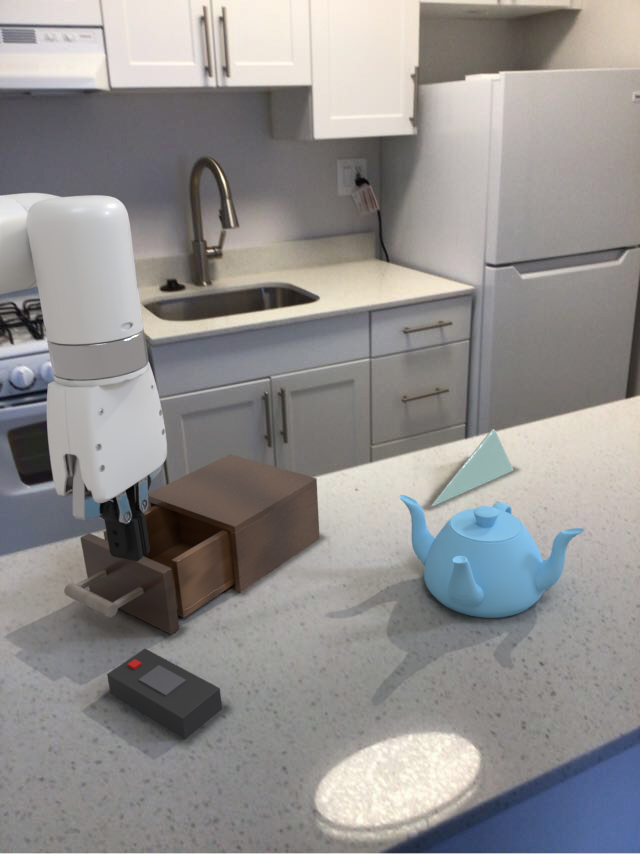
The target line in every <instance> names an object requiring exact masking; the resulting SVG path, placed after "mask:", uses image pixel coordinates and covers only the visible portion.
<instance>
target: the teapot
mask: <svg viewBox="0 0 640 854" xmlns="http://www.w3.org/2000/svg"><path fill="white" fill-rule="evenodd" d="M398 497H399V499H400V500H401V501H402V502H403V503H404V505H406V507H407V509H408V511H409V514H410V515H409V516H410V518H411V547H412V550H413V552H414V555H415V556H416V557H417V559H418V560H419V561H420V562H421V563H422V564H423V566H424V568H423V579H424V583H425V586H426V588H427V589H428V591H429V593H430V594H431V595H432V596H433V597H434V598H435V599H436V600H437V601H438V602H439V603H441V604H442V605H443V606H445V607H446V608H447V609H450V610H452V611H454V612H457V613H460V614H463V615H466V616H471V617H475V618H482V619H483V618H484V619H485V618H486V619H499V618H507V617H512V616H515V615H518V614H520V613H524V612H525V611H526V610H528V609H529V608H530V607H532V606H533V605H535V603H537V602H538V601H539V599H540V598H541V597H542V595H543V593H544V591H547V590H548V589H551V588H552V587H553V586H555V584H557V583H558V581H559V580H560V578H561V576H562V574H563V571H564V567H565V559H566V552H567V548H568V545H569V543H570V542H571V541H572V540H573V538H575V537H576V536H578V535H580V534H583V532H585V528H582V527H574V528H567V529H564V530H563V529H562V530H560V531H559V532H558V533H557V534H556V536H555V537H554V539H553V542H552V546H551V552H550V555H549V557H548V558H547V559H545V560H544V559H543V557H542V554H541V551H540V549H539V547H538V545H537V543H536V541H535V539H534V538H533V536H532V535H531V533H530V532H529V530H528V528H527V527H526V526H525V525H524V523H523V522H522V520H520V519H519V518H518V517H517V516H515V515H514V514H512V512H513V511H512V507H511V506H510V504H508V503H506V502H502V501H498V502H495V503H493V505H492V506H490V505H480V506H477V507H474V508H467V509H464V510H461V511H459V512H457V513H455V514H453V516H452V517H450V518H449V519H448V521H446V523H445V524H444V525H443V527H442V528H441V529H440V531H438V533H437V535H436V536H434V535H432V533H431V532H430V531H429V528H428V526H427V523H426V515H425V512H424V509H423V508H422V506H421V505H420V504H421V503H419V502H418V501H417V500H416V499H414V498H412V497H411V496H408V495H405V494H399V495H398Z"/></svg>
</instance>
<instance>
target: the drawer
mask: <svg viewBox="0 0 640 854" xmlns="http://www.w3.org/2000/svg"><path fill="white" fill-rule="evenodd" d="M143 513H144V514H145V519H146V526H147V533H148V540H149V547H150V552H149V553H148V554H146V555H145V556H143V557H142V558H141V559H140V560H139V561H132V560H127V559H122V558H118V557H113V556H112V555H111V554H110V550H109V544H108V538H107V532H106V529H105V530H103V538H101V537H99V536H97V535H94V534H92V533H89V532H88V533H86V534H84V535H83V536H80V538H79V539H80V543H81V549H82V555H83V561H84V566H85V572H86V577H87V578H85V579H83V580H81V581H80V582H78V583H74V582H69V583H67V584H66V585H65V587H64V590H63V593H64V595H65V596H67V597H69V598H71V599H72V600H75V601H76V602H78V603H80V604H82V605H84V606H86V607H88V608H90V609H92V610H93V611H96V612H98V613H99V614H102V615H103V616H106V617H107V618H113V617H114V616H116V614H117V613H118V610H121V611H123V612H125V613H127V614H129V615H131V616H133V617H135V618H136V619H137V618H138V619H139V620H140V621H143V622H145V623H147V624H149V625H151V626H153V627H154V628H157V629H159V630H161V631H163V632H165V633H167V634H169V635H172V634H174V633H176V632H177V631H178V630H180V624H179V617H181V618H186V617H187V616H189V615H191V614H192V613H194V612H195V611H196V610H198V609H199V608H201V607H202V606H204V605H205V604H206V603H208V602H210V601H211V600H212V599H214V598H215V597H217V596H219V595H221V594H222V593H224V592H225V591H226V590H228V589H230V588H229V587H231V586H232V585H234V584H235V577H234V566H233V556H232V546H231V536H230V531H228V530H226V529H223V528H220V527H217V526H215V525H212V524H209V523H206V522H204V521H201V520H198V519H195V518H192V517H190V516H187V515H184V514H181V513H179V512H176V511H173V510H170V509H168V508H165V507H162V506H159V505H155V506H153V507H151V508H149V509H147V510H146V511H145V512H143ZM87 587H88V588H89V590H88V589H87Z"/></svg>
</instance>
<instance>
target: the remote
mask: <svg viewBox="0 0 640 854" xmlns="http://www.w3.org/2000/svg"><path fill="white" fill-rule="evenodd" d="M106 676H107V681H108V688H109V693H110V695H111V696H112V697H114V698H116V699H118V700H119V701H121V702H123V703H124V704H126V705H127V706H129V707H131V708H133V709H134V710H136V711H137V712H139V713H140V714H142V715H144V716H145V717H147V718H149V719H150V720H152V721H154V722H156V723H157V724H159V725H161V726H162V727H164V728H165V729H167V730H168V731H170V732H172V733H174V734H175V735H177V736H179V737H180V738H182V739H183V740H186V739H188V738H189V737H190V736H191V735H193V734H194V733H195V732H196V731H197V730H199V729H201V727H202V726H203V725H205V724H206V723H207V722H209V721H210V720H211V719H212V718H213V717H215V716H216V715H217V714H218V713H219V712H220V711H222V710H223V703H222V695H221V688H220V687H218V686H217V685H216V684H215V685H214V684H213V683H211V682H209V681H207V680H205V679H204V678H202V677H200V676H198V675H196V674H194V673H192V672H191V671H188V670H186V669H185V668H182V667H181V666H179V665H177V664H175V663H173V662H171V661H169V660H168V659H165V658H164V657H162V656H160V655H158V654H156V653H155V652H153V651H151V650H149V649H147V648H144V649H142V650H141V651H139V652H138V653H136V654H135V655H133V656H132V657H130V658H128V659H127V660H126V661H123V662H122V663H121V664H120V665H118V666H117V667H115V668H114V669H112V670H111V671H109V672H108V673H107V674H106Z"/></svg>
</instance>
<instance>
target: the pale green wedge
mask: <svg viewBox="0 0 640 854" xmlns="http://www.w3.org/2000/svg"><path fill="white" fill-rule="evenodd" d="M513 471H514V468H513V466H512V463H511V461H510V459H509V457H508V454H507V452H506V450H505V448H504V446H503V443H502V441H501V438H500V437H499V435H498V433H497V431H496V430H495V429H494V428H493V429H491V430H490V431H489V432H488V434H487V435H486V436H484V438H483V439H482V441H481V442H480V443H479V444H478V446H477V447H476V449H474V451H473V452H472V453H471V454H470V455H469V457H468V458H467V459H466V460H465V462H464V463H463V465H462V466H460V468H459V470H457V472H456V473H455V474H454V476H452V478H451V480H450V481H449V482H448V483H447V485H446V486H445V487H444V489H443V490H442V491H441V493H440V494H439V495H438V496H437V497H436V498H435V500H434V502H433V503H431V505H430V507H434V506H437V505H438V504H440V503H444V502H445V501H448V500H449V499H452V498H455V497H457V496H459V495H461V494H463V493H465V492H468V491H470V490H472V489H475V488H477V487H479V486H481V485H484V484H486V483H488V482H491V481H493V480H495V479H498V478H499V477H503V476H504V475H506V474H508V473H511V472H513Z"/></svg>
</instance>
